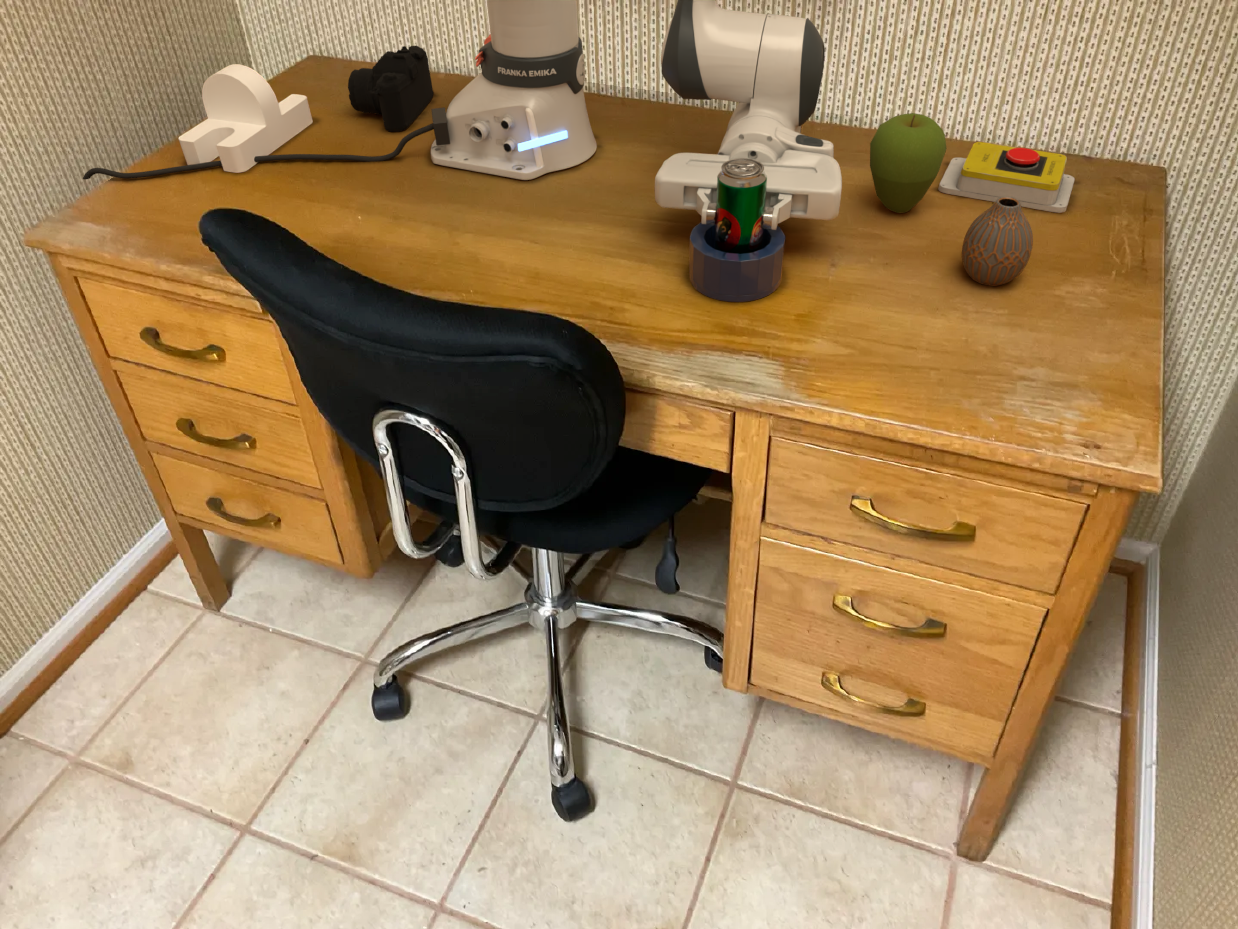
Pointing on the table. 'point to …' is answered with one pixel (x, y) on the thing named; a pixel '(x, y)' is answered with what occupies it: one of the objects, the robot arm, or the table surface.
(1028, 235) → the vase
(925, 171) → the apple
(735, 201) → the soda can
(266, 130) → the white slotted bracket
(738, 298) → the socket
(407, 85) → the film camera
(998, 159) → the emergency button
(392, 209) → the table surface
